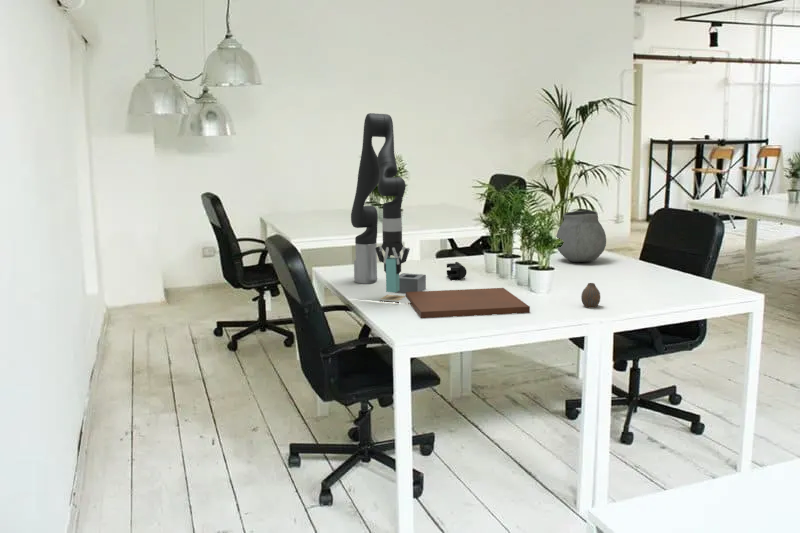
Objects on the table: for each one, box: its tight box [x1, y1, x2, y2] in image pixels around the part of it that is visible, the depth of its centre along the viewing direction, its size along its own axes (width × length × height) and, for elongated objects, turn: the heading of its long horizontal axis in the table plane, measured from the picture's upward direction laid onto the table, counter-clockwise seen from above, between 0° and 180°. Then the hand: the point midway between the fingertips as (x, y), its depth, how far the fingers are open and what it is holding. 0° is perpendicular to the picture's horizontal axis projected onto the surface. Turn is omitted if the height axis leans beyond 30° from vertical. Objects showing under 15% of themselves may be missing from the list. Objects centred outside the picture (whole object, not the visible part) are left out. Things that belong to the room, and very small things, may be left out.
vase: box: [580, 282, 601, 308], centre depth 281 cm, size 7×7×9 cm
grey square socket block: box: [396, 272, 427, 294], centre depth 307 cm, size 10×10×7 cm
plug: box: [385, 256, 400, 294], centre depth 293 cm, size 4×4×13 cm
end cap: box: [446, 261, 468, 282], centre depth 336 cm, size 10×7×7 cm
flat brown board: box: [405, 287, 531, 319], centre depth 286 cm, size 40×3×33 cm
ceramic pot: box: [555, 210, 607, 263], centre depth 371 cm, size 24×24×25 cm
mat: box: [379, 294, 407, 304], centre depth 295 cm, size 8×8×1 cm
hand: (392, 272), depth 293 cm, fingers closed on plug, 4 cm apart
